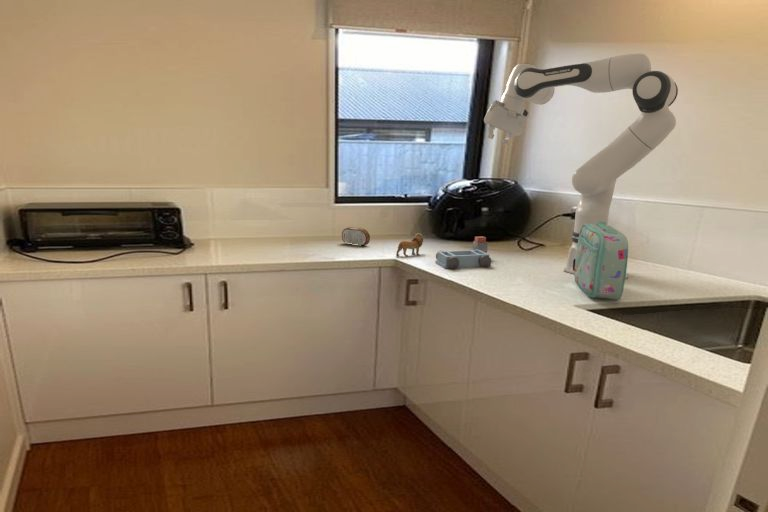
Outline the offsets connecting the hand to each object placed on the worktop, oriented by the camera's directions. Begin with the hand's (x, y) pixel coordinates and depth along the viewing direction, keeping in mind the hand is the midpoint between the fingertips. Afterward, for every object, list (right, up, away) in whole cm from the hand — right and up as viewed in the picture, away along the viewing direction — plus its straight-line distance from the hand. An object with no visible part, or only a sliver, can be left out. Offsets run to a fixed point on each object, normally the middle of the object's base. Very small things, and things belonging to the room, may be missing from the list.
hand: (497, 141), depth 189 cm
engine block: (-5, -47, +8) cm, 48 cm away
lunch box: (+21, -57, -39) cm, 72 cm away
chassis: (-14, -49, -2) cm, 51 cm away
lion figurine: (-34, -45, +15) cm, 59 cm away
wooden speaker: (-59, -41, +38) cm, 81 cm away
